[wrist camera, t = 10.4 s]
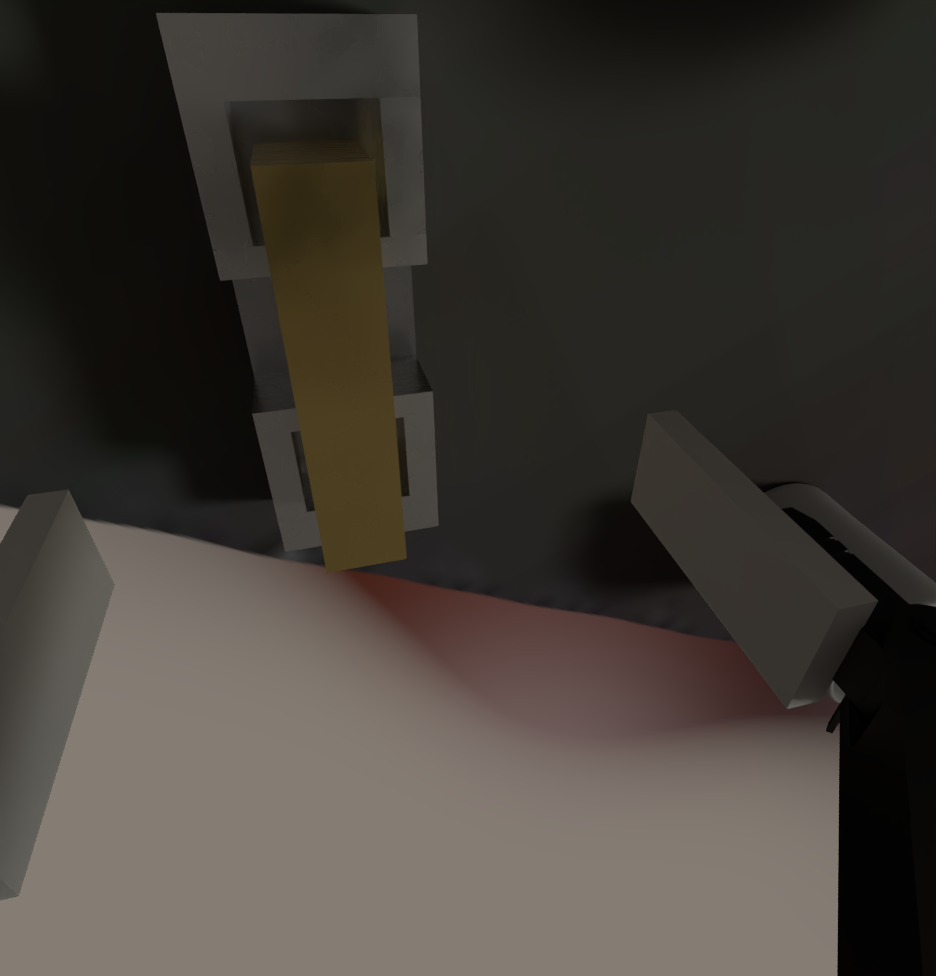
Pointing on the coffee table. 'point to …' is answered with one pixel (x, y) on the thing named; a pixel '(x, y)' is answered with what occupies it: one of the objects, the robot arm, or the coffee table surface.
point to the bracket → (236, 221)
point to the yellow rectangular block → (335, 339)
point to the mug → (857, 547)
